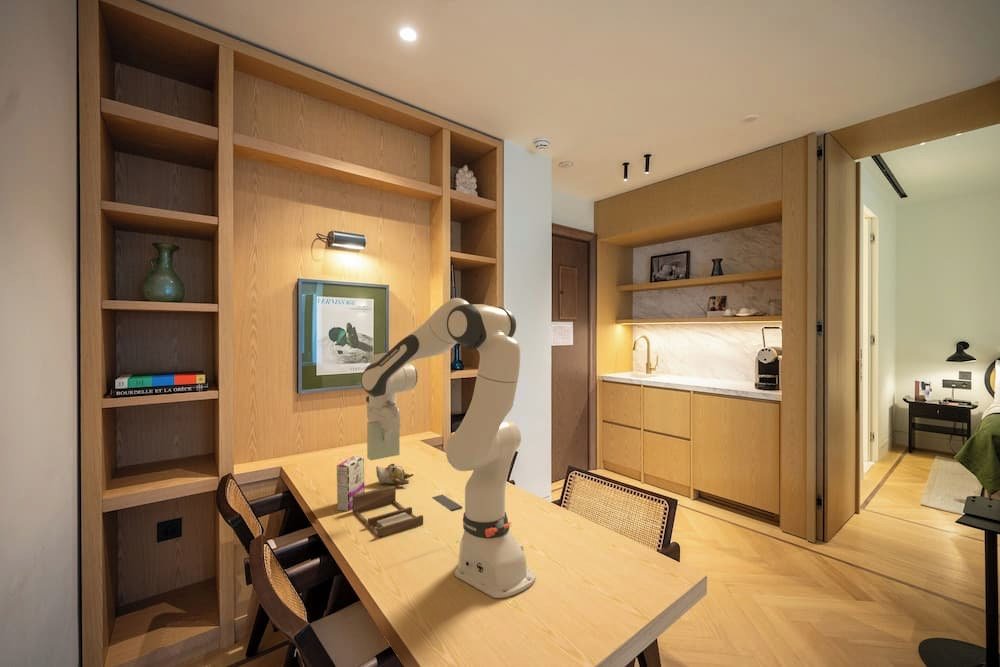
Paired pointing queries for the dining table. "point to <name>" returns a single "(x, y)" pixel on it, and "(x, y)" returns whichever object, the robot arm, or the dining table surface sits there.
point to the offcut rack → (378, 500)
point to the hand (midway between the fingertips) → (383, 439)
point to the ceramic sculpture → (392, 475)
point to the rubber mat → (447, 502)
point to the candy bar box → (349, 482)
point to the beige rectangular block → (380, 442)
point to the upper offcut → (393, 519)
